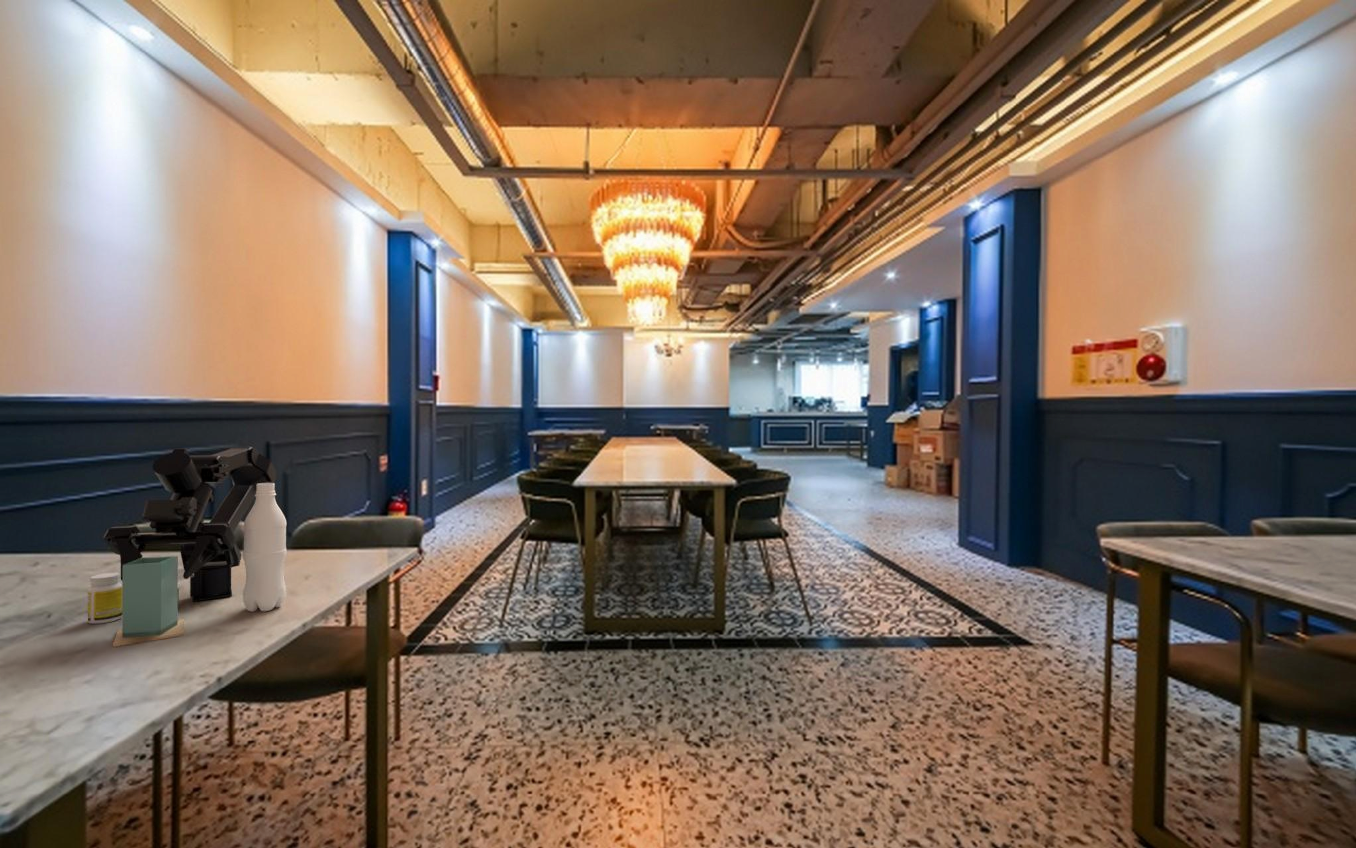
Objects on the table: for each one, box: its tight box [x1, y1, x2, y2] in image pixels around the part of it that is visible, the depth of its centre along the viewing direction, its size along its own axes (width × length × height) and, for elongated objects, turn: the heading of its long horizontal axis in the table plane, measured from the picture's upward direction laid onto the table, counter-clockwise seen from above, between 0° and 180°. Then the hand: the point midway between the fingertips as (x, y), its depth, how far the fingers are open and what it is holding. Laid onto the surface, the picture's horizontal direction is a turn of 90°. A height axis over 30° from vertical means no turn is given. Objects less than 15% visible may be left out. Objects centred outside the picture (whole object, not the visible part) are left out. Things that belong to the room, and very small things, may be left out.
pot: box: [121, 555, 179, 638], centre depth 106 cm, size 6×6×12 cm
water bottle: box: [242, 482, 288, 613], centre depth 120 cm, size 7×7×25 cm
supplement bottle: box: [87, 572, 122, 625], centre depth 112 cm, size 5×5×8 cm
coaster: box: [112, 618, 185, 648], centre depth 106 cm, size 9×9×1 cm
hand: (154, 579), depth 107 cm, fingers open, 9 cm apart
